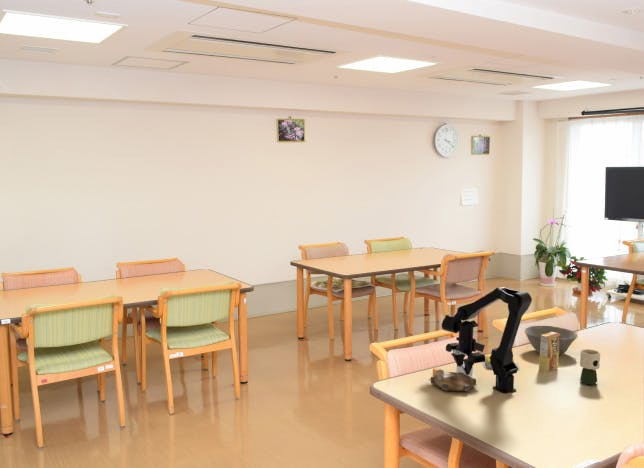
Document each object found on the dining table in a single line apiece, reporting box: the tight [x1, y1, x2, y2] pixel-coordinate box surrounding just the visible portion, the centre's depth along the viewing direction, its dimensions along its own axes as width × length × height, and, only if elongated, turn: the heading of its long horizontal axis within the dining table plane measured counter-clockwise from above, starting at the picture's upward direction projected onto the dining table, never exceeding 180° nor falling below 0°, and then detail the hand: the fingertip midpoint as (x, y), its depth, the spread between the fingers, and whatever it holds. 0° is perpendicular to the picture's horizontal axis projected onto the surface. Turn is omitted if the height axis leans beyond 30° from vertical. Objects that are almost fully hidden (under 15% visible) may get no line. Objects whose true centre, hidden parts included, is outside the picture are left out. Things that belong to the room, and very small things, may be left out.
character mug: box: [579, 348, 601, 386], centre depth 241 cm, size 11×7×13 cm, turn 135°
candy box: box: [538, 332, 560, 373], centre depth 257 cm, size 9×4×15 cm, turn 129°
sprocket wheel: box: [430, 369, 477, 392], centre depth 236 cm, size 17×16×6 cm
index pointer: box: [432, 367, 442, 377], centre depth 246 cm, size 2×2×4 cm
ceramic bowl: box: [524, 325, 578, 355], centre depth 281 cm, size 22×23×10 cm
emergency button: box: [482, 355, 521, 371], centre depth 262 cm, size 9×4×15 cm
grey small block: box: [455, 363, 474, 378], centre depth 248 cm, size 4×5×4 cm
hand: (464, 373), depth 248 cm, fingers closed on grey small block, 4 cm apart
